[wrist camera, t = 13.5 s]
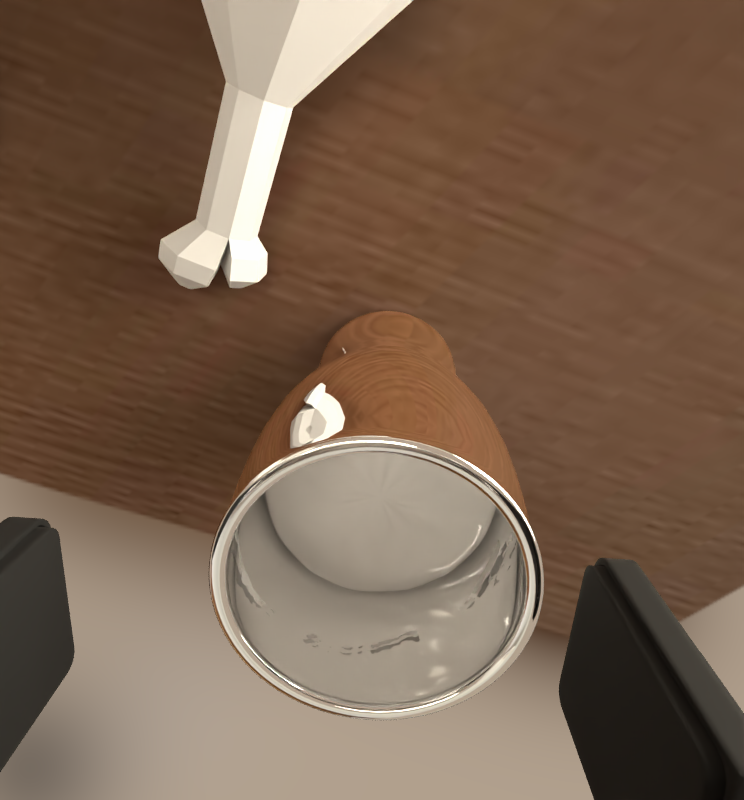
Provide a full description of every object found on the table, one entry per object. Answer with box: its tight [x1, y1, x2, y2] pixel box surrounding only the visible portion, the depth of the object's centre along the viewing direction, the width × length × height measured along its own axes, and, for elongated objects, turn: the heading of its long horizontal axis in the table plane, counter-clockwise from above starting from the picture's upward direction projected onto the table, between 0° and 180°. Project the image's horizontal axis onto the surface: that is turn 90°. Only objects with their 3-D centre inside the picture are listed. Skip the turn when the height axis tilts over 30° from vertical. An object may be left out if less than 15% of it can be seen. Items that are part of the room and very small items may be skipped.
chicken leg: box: [158, 0, 413, 289], centre depth 18 cm, size 8×18×8 cm, turn 158°
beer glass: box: [209, 311, 544, 720], centre depth 18 cm, size 7×7×15 cm
